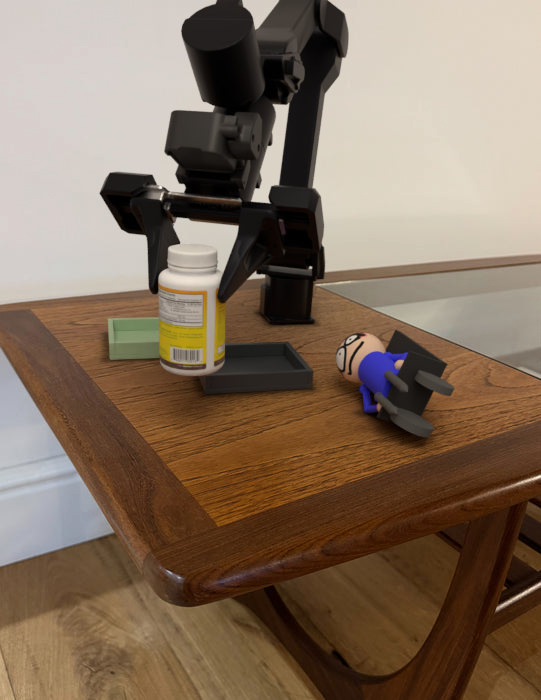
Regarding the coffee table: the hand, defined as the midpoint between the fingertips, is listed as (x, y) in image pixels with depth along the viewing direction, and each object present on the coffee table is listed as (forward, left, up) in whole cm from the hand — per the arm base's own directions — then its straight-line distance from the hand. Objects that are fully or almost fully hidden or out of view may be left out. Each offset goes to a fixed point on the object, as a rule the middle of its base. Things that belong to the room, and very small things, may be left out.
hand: (185, 296), depth 49 cm
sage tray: (0, -23, -12) cm, 26 cm away
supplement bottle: (-1, -1, -7) cm, 7 cm away
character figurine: (-20, -1, -12) cm, 23 cm away
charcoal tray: (-9, -12, -12) cm, 19 cm away
